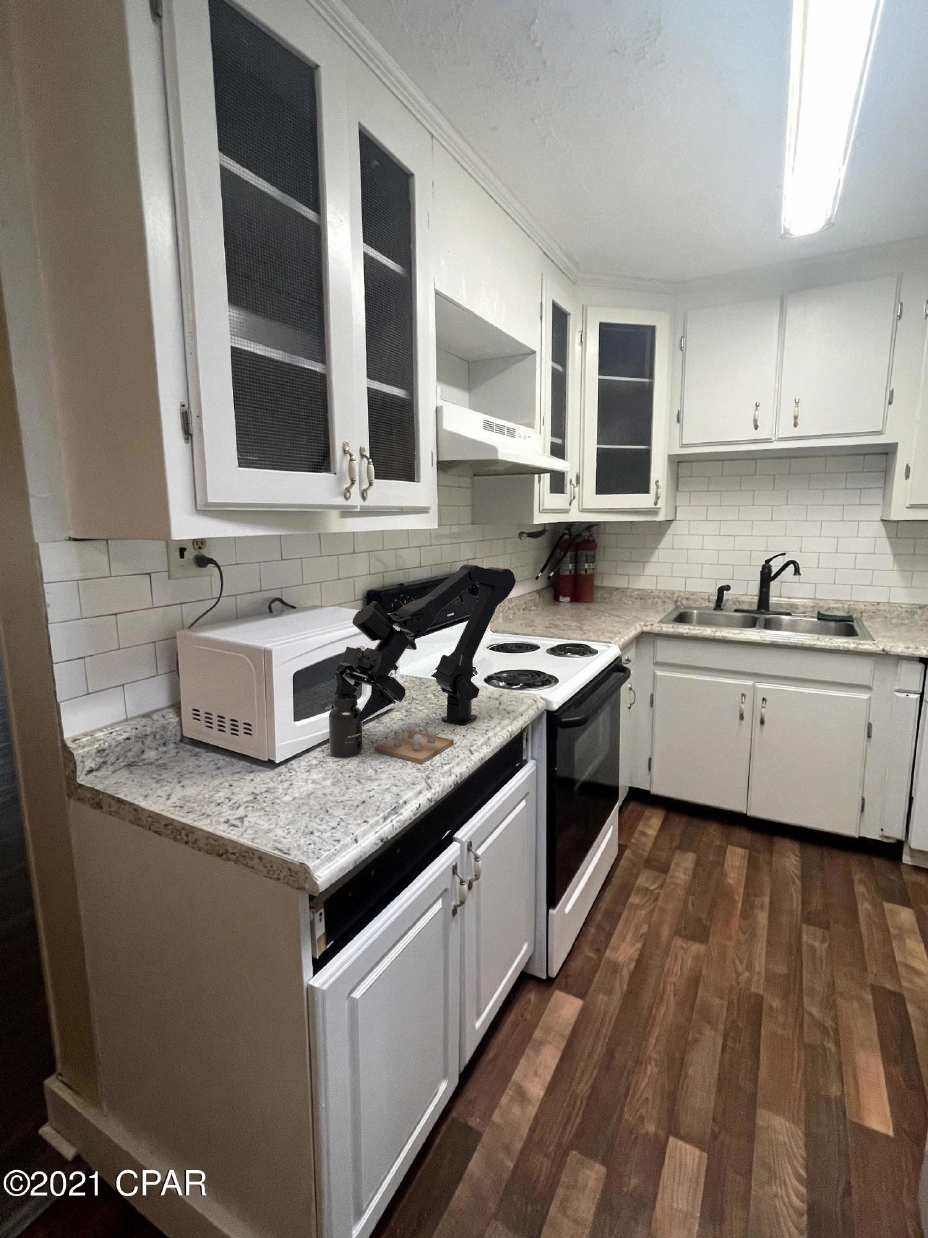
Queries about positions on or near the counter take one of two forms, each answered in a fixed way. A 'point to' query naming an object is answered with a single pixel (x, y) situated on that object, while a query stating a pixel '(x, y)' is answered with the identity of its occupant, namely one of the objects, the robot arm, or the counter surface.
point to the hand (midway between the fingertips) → (345, 715)
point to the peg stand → (414, 745)
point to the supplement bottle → (345, 727)
